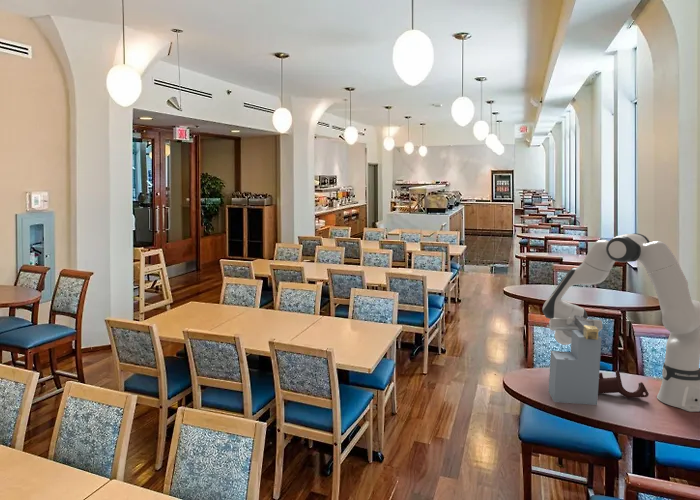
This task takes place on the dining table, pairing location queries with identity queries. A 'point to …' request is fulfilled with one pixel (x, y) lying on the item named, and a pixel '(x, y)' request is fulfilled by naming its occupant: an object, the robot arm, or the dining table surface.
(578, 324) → the bar
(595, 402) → the stepped stand
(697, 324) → the robot arm
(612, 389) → the bracket
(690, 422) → the dining table surface
